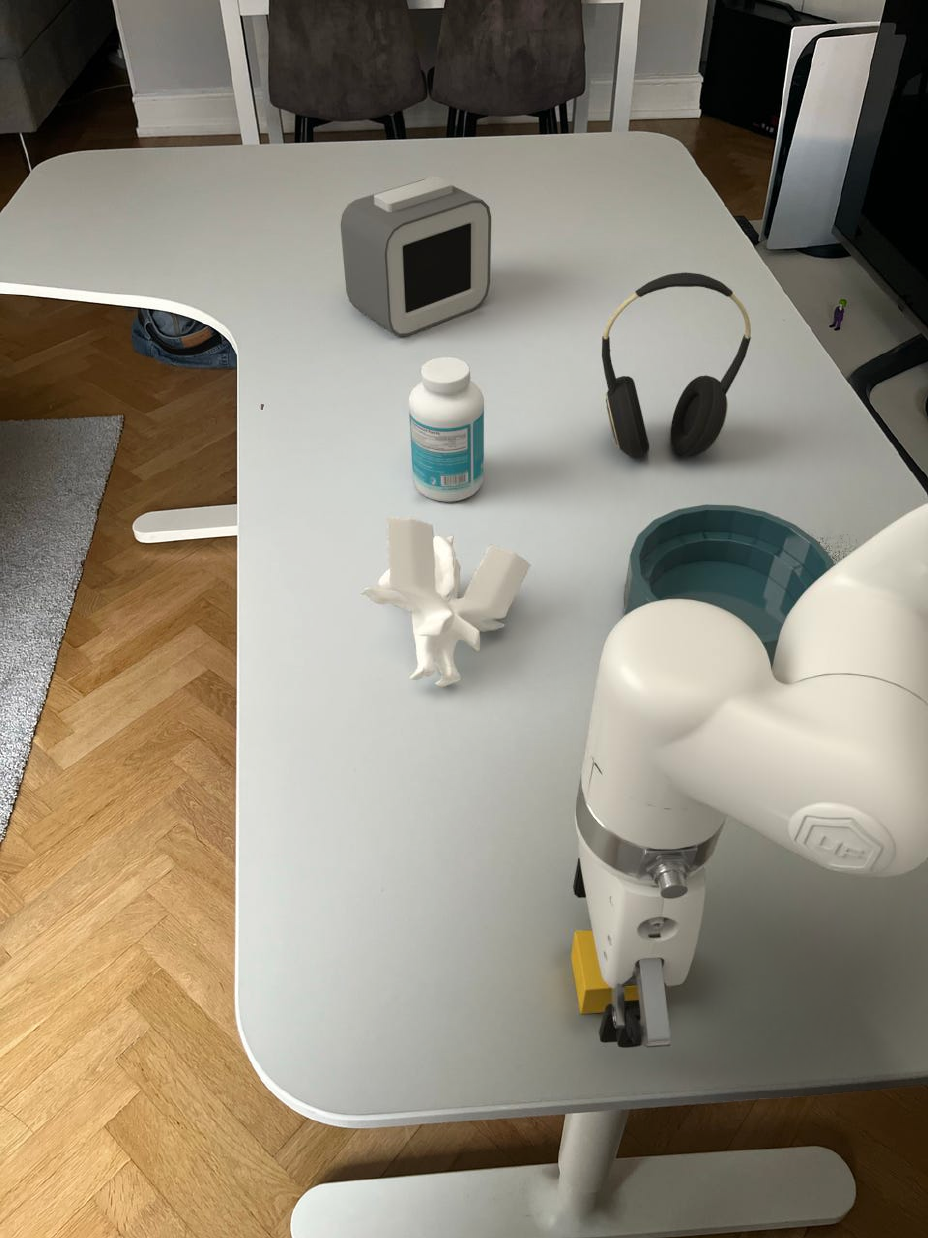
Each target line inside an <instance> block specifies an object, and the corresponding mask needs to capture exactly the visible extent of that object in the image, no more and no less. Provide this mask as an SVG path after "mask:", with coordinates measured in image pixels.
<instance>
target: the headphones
mask: <svg viewBox="0 0 928 1238" xmlns="http://www.w3.org/2000/svg"><path fill="white" fill-rule="evenodd" d="M676 287H677V288H678V287H679V288H681V287H682V288H694V287H695V288H705V289H708V290H711V291H715V292H718V293H720V294H722V295H723V296H725V297H727V298H729V299H730V300H732V301H733V303H735V305H736V306H737V307H738V309H739V311H740V312H741V315H742V317H743V320H744V325H745V330H744V334H743V337H742V339H741V342H740V345H739V348H738V350H737V353H736V355H735V357H734V358H733V360H732V362H731V364H730V366H729V367H728V369H727V370H726V372H725V373H724V375H723V376H722V378H721V380H718V379H717V378H716V377H713V376H710V375H705V374H704V375H699V376H697V377H695V378H694V379H692V380H691V381H690V382H689V383H688V384H687V385H686V386H685V387H684V390H683V391H682V393H681V395H680V397H679V399H678V400H677V403H676V406H675V409H674V412H673V415H672V419H671V424H670V442H671V446H672V448H673V450H674V451H675V453H678V455H681V456H682V457H686V458H695V457H697V456H700V455H701V454H703V453H704V452H706V451H707V450H709V449H710V448H711V447H713V446H714V444H715V443H716V442H717V440H718V439H719V437H720V435H721V433H722V431H723V430H724V429H723V428H724V427H725V423H726V419H727V415H728V409H729V408H728V407H729V402H728V397H727V393H728V392H729V390H730V388H731V386H732V384H733V382H734V380H735V378H736V377H737V375H738V373H739V371H740V369H741V367H742V364H743V362H744V360H745V359H746V356H747V352H748V349H749V346H750V343H751V339H752V336H751V335H752V334H751V331H752V330H751V329H752V328H751V321H750V317H749V314H748V312H747V310H746V308H745V306H744V305H743V303H742V302H741V300H740V299H739V298H738V297H737V296H736V295H735V294H734V292H733V290H732V289H731V288H730V287H728V286H727V285H726V284H724V283H723V282H722V281H720V280H717V279H715V278H713V277H711V276H709V275H704V274H702V273H696V272H685V271H683V272H675V273H669V274H666V275H662V276H660V277H658V278H655V279H652V280H651V281H648V282H646V283H645V284H644V285H643V286H642V285H641V287H639V288H637V290H635V292H634V293H633V294H632V295H631V296H629V297H628V298H626V300H625V301H623V302H622V303H621V304H620V305H619V306H618V307H617V308H616V309H615V311H614V312H613V313H612V315H611V316H610V318H609V319H608V322H607V324H606V325H605V329H604V332H603V335H602V337H601V360H602V366H603V372H604V377H605V381H606V386H607V391H606V393H605V403H606V404H605V405H606V411H607V415H608V416H607V417H608V421H609V424H610V428H611V433H612V436H613V439H614V441H615V444H616V446H617V448H618V450H619V451H621V452H623V453H624V454H625V455H627V456H629V457H631V458H639V457H643V456H644V455H646V454H647V453H649V450H650V443H649V437H648V435H647V434H648V433H647V430H646V425H645V421H644V416H643V413H642V412H643V411H642V408H641V404H640V400H639V396H638V392H637V387H636V382H635V380H634V378H632V377H631V376H629V375H621V376H618V377H616V374H615V373H616V372H615V370H614V366H613V363H612V356H611V345H610V344H611V340H610V331H611V329H612V327H613V325H614V323H615V321H616V319H617V318H618V316H619V315H620V314H621V313H622V312H623V311H624V309H626V308H627V307H628V306H629V305H630V304H631V303H632V302H634V301H635V300H637V299H638V298H642V297H644V296H645V295H648V294H651V293H654V292H657V291H660V290H665V289H668V288H676Z"/></svg>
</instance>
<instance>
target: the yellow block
mask: <svg viewBox="0 0 928 1238" xmlns="http://www.w3.org/2000/svg"><path fill="white" fill-rule="evenodd" d="M570 960H571V966H572V972H573V979H574V984H575V989H576V990H575V991H576V997H577V1002H578V1008H579V1013H580V1014H581V1015H586V1014H588V1015H589V1014H598V1013H604V1011H605V1008H606V1006H607V1005H608V1004H611V1003H612V994H611V987H610V986H609V985H607V984H606V983H605V981H604V980H603V978H602V974H601V970H600V966H599V962H598V957H597V952H596V947H595V942H594V936H593V931H592V929H584V930H576V931H574V935H573V941H572V947H571V954H570ZM630 1000H639V996H638V987H637V986H625V1001H630Z"/></svg>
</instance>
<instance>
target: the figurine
mask: <svg viewBox="0 0 928 1238" xmlns="http://www.w3.org/2000/svg"><path fill="white" fill-rule="evenodd" d="M385 520H386V524H387V526H386V536H387V549H386V550H387V556H388V557H387V558H388V559H387V561H388V568H387V569H386V571H385V572H384V573H382V575H381V576H380V578H379V579H378V587H372V586H367V587H366V588H363V589H362V591H361V592H360V593H361V595H364V596H366V597H368V598H369V599H370V600H371V601H372V602H374V603H376V604H379V605H387V604H388V605H393V606H395V608H401V609H404V610H405V611H408V612H409V613H411V627H412V633H413V638H414V643H415V656H416V661H417V662H416V663H417V667H416V669H415V670H414V672H413V673H412V675H410V676H409V679H410V680H412V681H417V680H421V679H423V678H424V677H430V676H433V675H434V674H435V673H436V670H437V669H438V671H439V672H440V675H441V677H440V678H439V680H438V681H436V682H435V685H437V686H439V687H447V686H448V685H451V684H454V683H456V682H458V681H459V680H460V679H461V675H460V673H459V672H458V669H457V667H456V665H455V660H454V653H455V649H456V646H457V644H458V642H459V641H464V642H465V643H466V644H468V645H469V646H471V647H472V648H473V649H474V650H476V651H478V652H480V650H481V634H480V632H490V631H496V630H499V629H501V628H504V627H505V626H506V624H505V623H504V624H503V623H501V622H499V621H497V620H496V619H503V618H504V619H505V617H506V616H507V614H508V611H509V608H510V606H511V605H512V603H513V601H514V600H515V598H516V596H517V594H518V592H519V591H520V588H521V585H522V583H523V581H524V580H525V578H526V576H527V574H528V571H529V569H530V567H532V564H530V563H529V562H528V561H527V560H526V559H524V558H523V557H522V556H520V555H519V554H518V553H517V552H514V551H511V550H509V549H506V548H504V547H500V546H497V545H494V544H492V543H491V544H490V545H489V546H488V548H487V549H486V551H485V552H484V557H483V558H482V560H481V561H480V563H479V565H478V566H477V569H476V570H475V573H474V574H473V575H472V577H471V581H470V582H469V584H468V586H467V588H466V590H465V592H464V595H463V597H459V591H460V584H461V565H460V562H459V561H458V559H457V555H456V551H455V549H454V547H453V544H454V537H455V535H450V536H448V537H446V538H445V537H444V536H442V535H435V534H434V526H433V524H432V523H431V524H430V523H428V522H425V521H422V520H419V519H415V518H410V517H387V516H386V517H385ZM458 597H459V598H458ZM436 667H437V669H436Z"/></svg>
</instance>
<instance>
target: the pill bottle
mask: <svg viewBox="0 0 928 1238" xmlns="http://www.w3.org/2000/svg"><path fill="white" fill-rule="evenodd" d="M420 370H421V371H420V382H418V383H417V385H416V386H414V387H413V389H412V390H411V392H410V394H409V397H408V417H409V433H410V434H409V436H410V452H411V453H410V454H411V466H412V481H413V484H414V486H415V488H416V490H418V492H419V493H420V494H421V495H423V496H425V497H426V498H429V499H430V500H434V501H438V502H457V501H461V500H465V499H467V498H469V497H472V496H473V495H475V494H476V493H477V492H478V491H479V490H480V488H481V487H482V486H483V483H484V478H485V399H484V398H485V397H484V395H483V392H482V390H481V388H480V387H479V386H478V385H477V384H476V383H475V382H473V381H472V380H471V370H470V365H469V364H468V363H467V362H466V361H465V360H462V359H461V358H457V357H453V356H452V357H451V356H440V357H436V358H433V359H430V360H428V361H426V362H425V363H424V364H423V365H422V366H421V368H420Z"/></svg>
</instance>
